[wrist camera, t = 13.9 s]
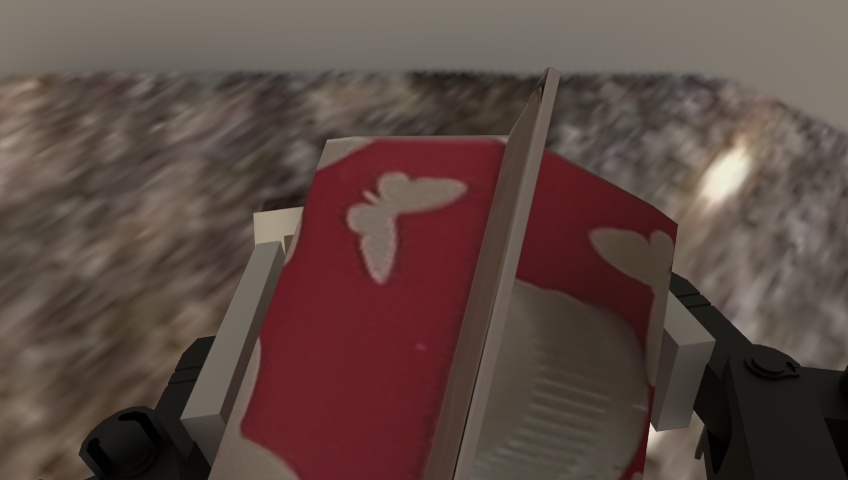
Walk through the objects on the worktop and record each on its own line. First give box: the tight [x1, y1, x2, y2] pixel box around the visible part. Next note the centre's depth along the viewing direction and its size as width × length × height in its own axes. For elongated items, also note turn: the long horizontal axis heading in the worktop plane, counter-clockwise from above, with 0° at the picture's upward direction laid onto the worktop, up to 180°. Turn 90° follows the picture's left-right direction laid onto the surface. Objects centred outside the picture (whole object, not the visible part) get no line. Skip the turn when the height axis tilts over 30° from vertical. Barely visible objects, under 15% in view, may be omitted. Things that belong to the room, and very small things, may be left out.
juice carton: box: [208, 67, 678, 480], centre depth 15 cm, size 7×7×22 cm
